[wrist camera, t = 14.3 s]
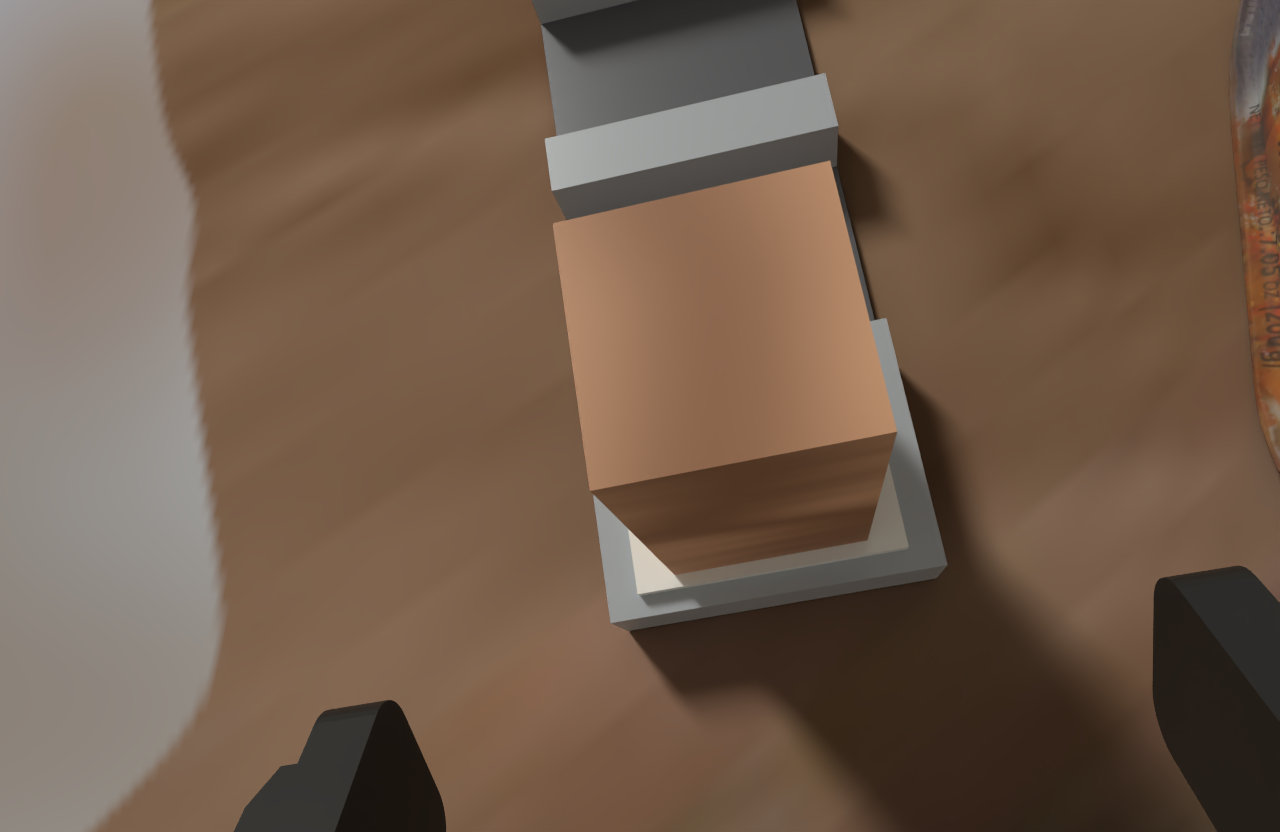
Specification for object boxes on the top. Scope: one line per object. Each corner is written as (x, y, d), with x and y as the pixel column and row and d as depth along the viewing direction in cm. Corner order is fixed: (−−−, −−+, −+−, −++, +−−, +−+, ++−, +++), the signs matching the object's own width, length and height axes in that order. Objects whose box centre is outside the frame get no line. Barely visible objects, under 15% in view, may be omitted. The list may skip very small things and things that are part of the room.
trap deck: (750, -181, 29) (745, -254, 27) (936, 578, 22) (949, 562, 19) (522, -119, 30) (498, -186, 27) (628, 630, 22) (607, 621, 20)
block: (826, 359, 21) (830, 160, 14) (867, 540, 20) (897, 431, 12) (645, 395, 22) (552, 223, 14) (675, 575, 20) (590, 490, 13)
